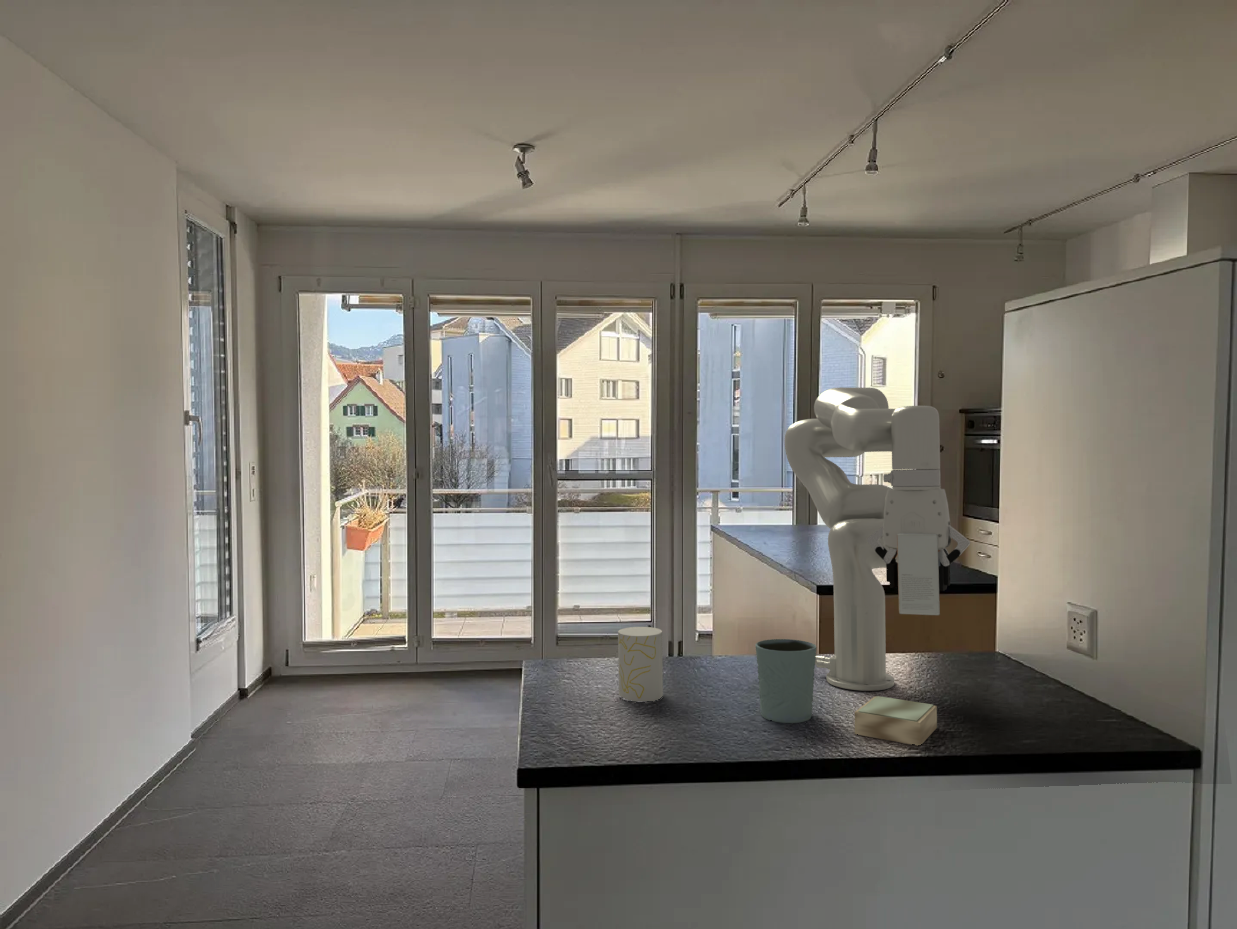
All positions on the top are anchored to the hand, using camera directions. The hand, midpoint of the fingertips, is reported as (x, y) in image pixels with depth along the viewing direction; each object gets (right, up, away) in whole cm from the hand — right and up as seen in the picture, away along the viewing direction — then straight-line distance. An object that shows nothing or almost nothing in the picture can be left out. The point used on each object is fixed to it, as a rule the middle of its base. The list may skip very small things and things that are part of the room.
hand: (918, 587), depth 137 cm
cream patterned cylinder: (-45, -23, +16) cm, 53 cm away
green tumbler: (-21, -22, +4) cm, 31 cm away
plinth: (-5, -22, -5) cm, 23 cm away
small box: (0, -4, 0) cm, 4 cm away
